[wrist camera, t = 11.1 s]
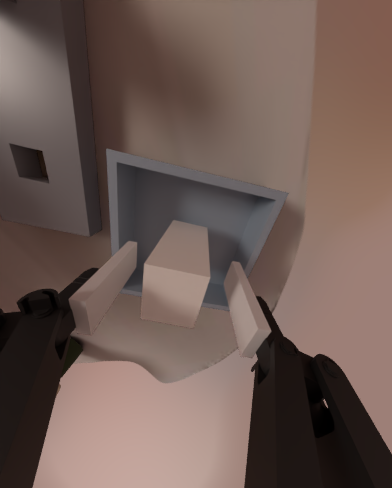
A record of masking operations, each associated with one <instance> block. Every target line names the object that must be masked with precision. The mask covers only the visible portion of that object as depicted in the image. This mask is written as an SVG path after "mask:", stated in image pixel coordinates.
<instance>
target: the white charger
mask: <svg viewBox="0 0 392 488" xmlns="http://www.w3.org/2000/svg"><path fill="white" fill-rule="evenodd" d="M209 280H210V263H209V246H208V230H207V227H203V226H198V225H194V224H189V223H185V222H181V221H176V220H173V221H172V223H171V224H170V226H169V227H168V229H167V230H166V232H165V233H164V235H163V236H162V238H161V239H160V241H159V242H158V244H157V245H156V247H155V248H154V250H153V251H152V253H151V254H150V256H149V257H148V259H147V260H146V262H145V263H144V273H143V288H142V303H141V318H140V319H144V320H149V321H154V322H160V323H165V324H170V325H176V326H181V327H186V328H191V329H193V328H194V325H195V322H196V319H197V316H198V313H199V310H200V307H201V304H202V301H203V298H204V295H205V292H206V289H207V286H208V283H209Z"/></svg>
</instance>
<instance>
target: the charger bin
mask: <svg viewBox="0 0 392 488" xmlns="http://www.w3.org/2000/svg"><path fill="white" fill-rule="evenodd" d="M106 156H107V175H108V193H109V212H110V231H111V250H112V256H113V255H114V254H116V253H117V252H118V251H119V250H120V249H121V248H122V247H123V246H124V245H125V244H126V243H127V242H128V241H133V242H137V264H136V268H135V270H134V271H133V273H132V274H131V276H130V277H129V279H128V280H127V282H126V284H125V285H124V287H123V288H122V290H121V291H120V293H122V294H128V295H134V296H140V297H142V288H143V273H144V263H145V262H146V260H147V259H148V257H149V256H150V254H151V253H152V251H153V250H154V248H155V247H156V245H157V244H158V242H159V241H160V239H161V238H162V236H163V235H164V233H165V232H166V230H167V229H168V227H169V226H170V224H171V223H172V221H173V220H176V221H181V222H185V223H189V224H194V225H198V226H203V227H207V230H208V246H209V263H210V280H209V283H208V286H207V289H206V292H205V295H204V298H203V301H202V304H201V307H206V308H212V309H218V310H225V311H230V309H229V305H228V300H227V296H226V292H225V287H224V280H225V278H226V275H227V273H228V270H229V268H230V265H231V262H232V261H235V262H240V264H241V266H242V268H243V271H244V273H245V275H246V277H247V279H248V277H249V275H250V273H251V271H252V269H253V266H254V264H255V262H256V260H257V258H258V256H259V254H260V252H261V250H262V248H263V246H264V244H265V241H266V239H267V237H268V235H269V233H270V231H271V229H272V227H273V225H274V223H275V221H276V219H277V217H278V214H279V212H280V210H281V208H282V206H283V204H284V202H285V200H286V198H287V196H288V194H289V193H287V192H283V191H279V190H274V189H270V188H266V187H262V186H258V185H254V184H250V183H246V182H242V181H238V180H233V179H229V178H225V177H221V176H217V175H213V174H209V173H205V172H201V171H197V170H193V169H188V168H184V167H180V166H176V165H172V164H168V163H164V162H160V161H156V160H152V159H147V158H143V157H139V156H135V155H131V154H127V153H123V152H119V151H115V150H111V149H106Z"/></svg>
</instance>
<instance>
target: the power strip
mask: <svg viewBox="0 0 392 488" xmlns="http://www.w3.org/2000/svg"><path fill="white" fill-rule="evenodd" d="M16 1H17V3H14V2H11V1H8V0H0V215H1V217H2V220H5V221H10V222H16V223H21V224H26V225H31V226H36V227H41V228H47V229H52V230H57V231H62V232H67V233H72V234H78V235H83V236H88V237H90V236H92V235H94V234H95V233H97V232H99V231H100V230H102V226H101V214H100V202H99V190H98V177H97V165H96V153H95V141H94V128H93V116H92V104H91V92H90V79H89V67H88V55H87V43H86V30H85V18H84V6H83V0H16ZM36 150H40V151H43V156H44V161H45V165H46V170H47V174H48V178H47V177H43V176H42V172H41V168H40V164H39V160H38V155H37V151H36Z"/></svg>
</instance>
